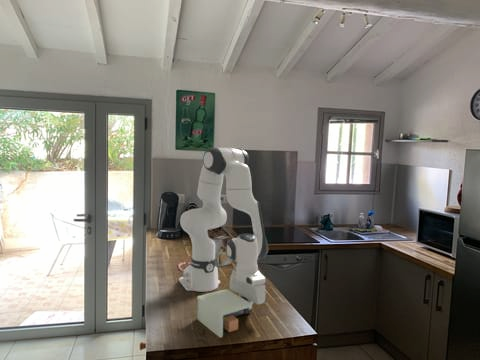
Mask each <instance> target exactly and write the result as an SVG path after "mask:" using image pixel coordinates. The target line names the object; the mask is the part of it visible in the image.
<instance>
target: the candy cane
mask: <svg viewBox="0 0 480 360" xmlns="http://www.w3.org/2000/svg"><path fill="white" fill-rule="evenodd" d="M190 263H191V262H185V261H184V262H181V263H179V264H178V265H177V269H178V270H179V271H180V272H181V273H184V270H185V269H183V268H182V267H181V266H182V265H188V266H189V265H190Z"/></svg>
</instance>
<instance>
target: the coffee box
mask: <svg viewBox="0 0 480 360" xmlns="http://www.w3.org/2000/svg"><path fill="white" fill-rule="evenodd" d="M230 239H232V237H231V236H228V235H220V236H213V237H212V240H213V241H214V242H215V258H216V267H217V268H219V267H224V266H228V265H231V264H232V260H231V259H230V258H228V256H227V255H226V244H227V243H228V241H229V240H230Z"/></svg>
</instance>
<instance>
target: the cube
mask: <svg viewBox="0 0 480 360" xmlns="http://www.w3.org/2000/svg"><path fill="white" fill-rule="evenodd" d="M223 330H225V331H226V332H228V333H231V332H234V331H237V330H239V318H237V316H235V317H234V316H233V315H231V316H228V317H224V320H223Z"/></svg>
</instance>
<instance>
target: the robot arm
mask: <svg viewBox="0 0 480 360" xmlns="http://www.w3.org/2000/svg"><path fill="white" fill-rule="evenodd" d="M202 164H203V165H202V167H201V170H200V173H199V178H198V186H197V191H196V195H197V197H198V198H199V199H200V200H201V201H202V207H199V208H191V209H188V210H187V211H183V213H182V214H181V216H180V218H179V223H180V227H181V228H182V230H183V231H184V232H185V233H187V235H189V236H188V237H189V238H190V241H191V246H192V247H191V248H192V249H191V251H192V257H191V256H190V259H189V260H190V262H189V263H190V265H189V264H188V266H187V267H186V268H184V269H183V270H184V272H182V276H181V277H179V279H178V282H179V283H180V284H181V286H182V287H183V288H184V289H185V290H186V291H189V292H190V291H193V292H194V291H195V292H200V293H201V292H211V291H214V290H217V289H218V287H219V285H220V284H221V280H219V271H218V270H219V267H218V266H216V258H215V242H214V241H213V238H211V237H209V233H208V230H209V231H210V230H215V229H217V228H219V227H222V226H224V225H225V224H226V222H227V221H228V220H227V219H228V214H227V211H226V210H225V209H224V207H223V206H222V202H221V201H222V200H221V193H222V187H223V184H224V183H223V182H224V177H225V182H226V183H225V188H226V189H225V194H226V201H227V203H228V204H229V205H230V206H231V207H232V208H233V209H236V210H238V211H241V212H244V213H246V214H247V215H249V217H250V219H251V224H252V225H251V226H252V231H253V234H252V233H247V232H245V233H240V234H239V235H238V237H233V238H231V239H230V240H229V241H228V243H227V244H226V255H227V256H228V258H230V259H231V261H233V262H236V267H235V268H233V269H232V271H231V275H230V276H229V277H230V279H229V289H230V291H231V290H232V292H234V293H237V294H238V296H239V297H245V298H247V299H248V302H250V303H251V304H252V307H249V308H248V309H249V310H250V309H251V310H252V309H253V304H255V305H257V306H258V305H262V304H264V303H265V301H266V284H265V283H266V281H267V279H266V277H265V276H264V275H263V274H262V273H261V272H260V271H259V268H258V267H259V266H258V260H263V259H264V258H265V257H266V256H267V254H268V253H269V244H268V240H267V237H266V232H265V227H264V220H263V219H264V218H263V213H262V210H261V205H260V203H259V201H257V199H255V197H254V194H253V190H252V189H253V188H252V184H253V183H252V176H251V175H252V174H251V170H250V167H249V164H250V157H249V154H248V152H247V151H246V150H244V149H241V148H238V147H237V148H233V147H228V146H227V147H211V148H209V149H207V150H206V151H204V154H203V157H202Z"/></svg>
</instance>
